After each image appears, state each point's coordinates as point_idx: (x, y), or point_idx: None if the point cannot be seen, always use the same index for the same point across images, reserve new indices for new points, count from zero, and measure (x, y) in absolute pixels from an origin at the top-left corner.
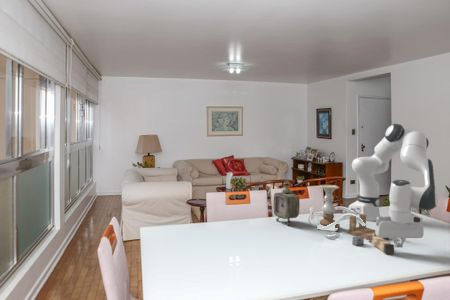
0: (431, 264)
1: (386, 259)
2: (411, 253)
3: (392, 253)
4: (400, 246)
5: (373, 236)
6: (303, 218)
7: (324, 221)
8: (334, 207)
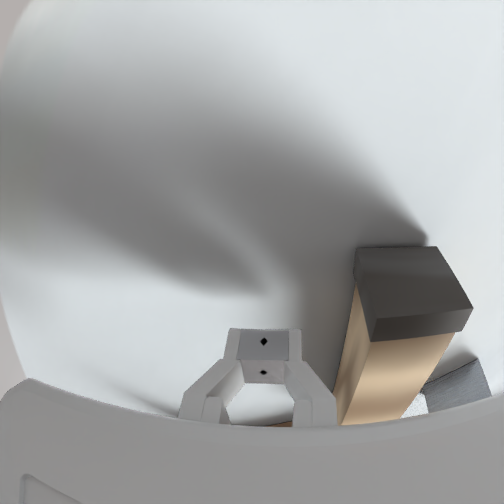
0: (83, 17)
1: (495, 121)
2: (162, 274)
3: (370, 248)
4: (253, 335)
5: None
6: None
7: None
8: None
